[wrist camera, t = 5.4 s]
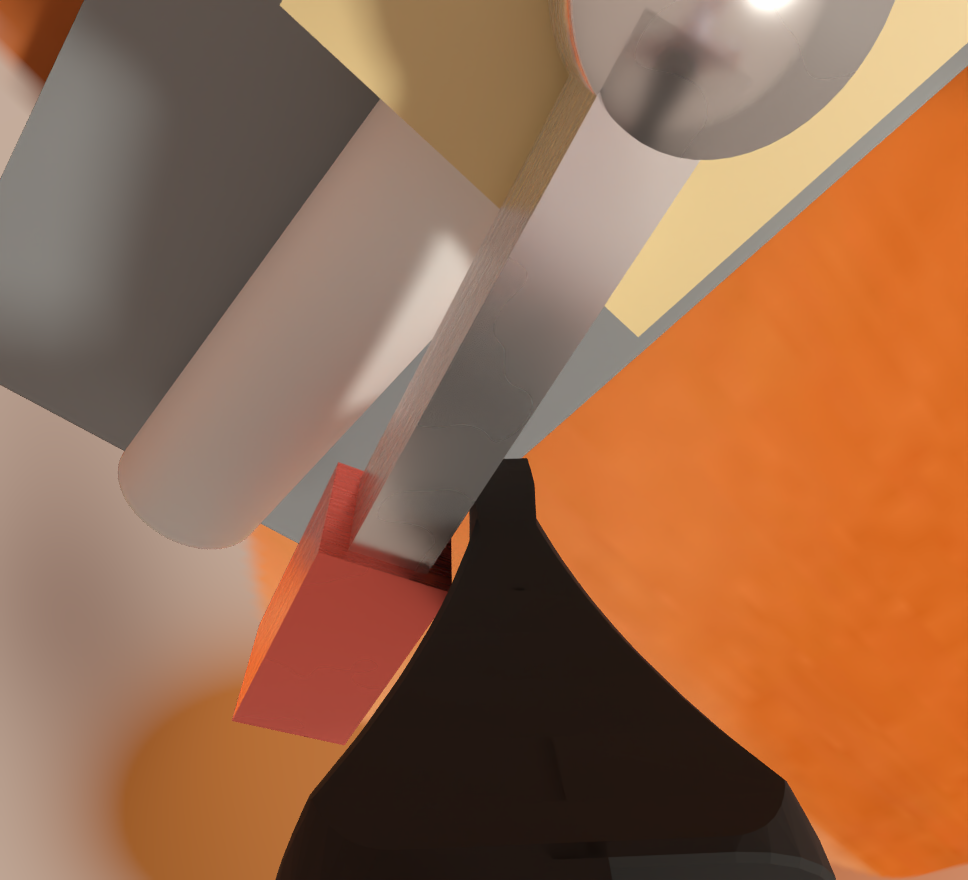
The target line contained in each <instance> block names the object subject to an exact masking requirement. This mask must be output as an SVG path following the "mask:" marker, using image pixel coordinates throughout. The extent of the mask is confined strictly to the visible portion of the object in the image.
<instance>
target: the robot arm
mask: <svg viewBox="0 0 968 880" xmlns="http://www.w3.org/2000/svg"><path fill="white" fill-rule="evenodd" d="M276 880H836V878H835V875H834V873H833V870H832V868H831V866H830V863H829V861H828V859H827V856H826V854H825V852H824V849H823V847H822V845H821V842H820V840H819V838H818V836H817V835H816V833H815V831H814V829H813V827H812V826H811V824H810V822H809V820H808V818H807V816H806V815H805V813H804V811H803V809H802V807H801V806H800V804H799V802H798V800H797V799H796V797H795V795H794V793H793V792H792V790H791V788H790V787H789V785H788V783H787V781H785V780H784V779H783V778H782V777H780V776H779V775H778V774H776V773H775V772H774V771H773V770H771V769H770V768H769V767H767V766H766V765H765V764H764V763H762V762H761V761H760V760H758V759H757V758H756V757H755V756H753V755H752V754H751V753H749V752H748V751H747V750H746V749H744V748H743V747H742V746H740V745H739V744H738V743H737V742H735V741H734V740H733V739H732V738H730V737H729V736H728V735H727V734H726V733H724V732H723V731H722V730H721V729H719V728H718V727H717V726H716V725H715V724H714V723H713V722H711V721H710V720H709V719H708V718H707V717H706V716H705V715H703V714H702V713H701V712H700V711H699V710H698V709H697V708H696V707H694V706H693V705H692V704H691V703H690V702H689V701H688V700H686V699H685V698H684V697H683V696H682V695H681V694H680V693H679V692H678V691H677V690H676V689H675V688H674V687H673V686H672V685H671V684H670V683H669V682H668V681H667V680H666V679H665V678H664V677H663V676H662V675H661V674H660V673H658V672H657V671H656V670H655V669H654V668H653V667H652V666H651V665H650V664H649V663H648V662H647V661H646V660H645V659H644V658H643V657H642V656H641V655H640V654H639V653H638V652H637V651H636V650H635V649H634V648H633V647H632V646H631V644H630V643H629V642H628V641H627V640H626V639H625V638H624V637H623V636H622V635H621V633H620V632H619V631H618V630H617V629H616V628H615V627H614V626H613V625H612V623H611V622H610V621H609V620H608V619H607V617H606V616H605V615H604V614H603V613H602V612H601V610H600V609H599V608H598V607H597V606H596V604H595V603H594V602H593V601H592V599H591V598H590V597H589V596H588V594H587V593H586V592H585V590H584V589H583V588H582V586H581V585H580V584H579V583H578V581H577V580H576V578H575V577H574V576H573V574H572V573H571V571H570V570H569V569H568V567H567V566H566V564H565V563H564V562H563V560H562V559H561V557H560V556H559V554H558V553H557V551H556V550H555V548H554V547H553V545H552V543H551V542H550V540H549V539H548V537H547V535H546V534H545V532H544V530H543V529H542V527H541V526H540V524H539V522H538V521H537V519H536V506H535V487H534V481H533V477H532V473H531V469H530V466H529V463H528V459H527V458H518V459H503V460H502V462H501V463H500V465H499V466H498V468H497V469H496V471H495V472H494V474H493V475H492V477H491V478H490V480H489V481H488V483H487V484H486V486H485V487H484V489H483V490H482V492H481V493H480V495H479V496H478V498H477V499H476V501H475V503H474V504H473V506H472V507H471V509H470V541H469V544H468V546H467V549H466V551H465V554H464V556H463V559H462V561H461V563H460V566H459V568H458V571H457V573H456V575H455V578H454V580H453V582H452V584H451V587H450V589H449V591H448V593H447V595H446V597H445V599H444V601H443V603H442V605H441V607H440V609H439V611H438V613H437V615H436V617H435V618H434V620H433V622H432V624H431V626H430V628H429V630H428V631H427V633H426V635H425V636H424V638H423V640H422V641H421V643H420V645H419V647H418V648H417V650H416V652H415V653H414V655H413V657H412V658H411V660H410V662H409V663H408V665H407V666H406V668H405V670H404V671H403V673H402V674H401V676H400V677H399V679H398V680H397V682H396V683H395V685H394V686H393V688H392V689H391V690H390V692H389V693H388V695H387V696H386V697H385V699H384V700H383V702H382V703H381V705H380V706H379V707H378V709H377V710H376V712H375V713H374V714H373V716H372V717H371V719H370V720H369V722H368V723H367V724H366V726H365V727H364V728H363V730H362V731H361V733H360V734H359V735H358V736H357V738H356V739H355V740H354V742H353V743H352V744H351V745H350V746H349V748H348V749H347V750H346V751H345V753H344V754H343V755H342V756H341V757H340V759H339V760H338V761H337V762H336V764H335V765H334V766H333V767H332V768H331V770H330V771H329V772H328V773H327V775H326V776H325V777H324V778H323V780H322V781H321V782H320V783H319V784H318V786H317V787H316V788H315V789H314V791H313V792H312V793H311V794H310V796H309V798H308V800H307V802H306V804H305V806H304V809H303V811H302V813H301V816H300V818H299V820H298V822H297V825H296V827H295V829H294V831H293V833H292V836H291V839H290V841H289V843H288V846H287V849H286V851H285V853H284V856H283V859H282V862H281V864H280V867H279V870H278V873H277V877H276Z"/></svg>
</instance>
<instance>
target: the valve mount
mask: <svg viewBox="0 0 968 880" xmlns="http://www.w3.org/2000/svg"><path fill="white" fill-rule="evenodd" d="M967 66H968V0H895V2H894V4H893V7H892V9H891V11H890V14H889V16H888V18H887V21H886V23H885V25H884V27H883V29H882V31H881V33H880V34H879V36H878V38H877V40H876V42H875V44H874V45H873V47H872V49H871V50H870V52H869V53H868V55H867V56H866V58H865V59H864V61H863V62H862V64H861V65H860V67H859V68H858V70H857V71H856V72H855V74H854V75H853V76H852V77H851V79H850V80H849V81H848V82H847V84H846V85H845V86H844V87H843V89H842V90H841V91H840V92H839V93H838V94H837V95H836V96H835V97H834V98H833V99H832V100H831V101H830V102H829V103H828V104H827V105H826V106H825V107H824V108H823V109H822V110H821V111H819V112H818V113H817V114H816V115H815V116H813V117H812V118H811V119H810V120H809V121H807V122H806V123H805V124H803V125H802V126H800V127H799V128H797V129H796V130H794V131H793V132H792V133H790V134H789V135H787V136H785V137H783V138H781V139H779V140H778V141H776V142H774V143H772V144H770V145H768V146H765V147H763V148H760V149H758V150H755V151H753V152H750V153H746V154H743V155H739V156H735V157H731V158H724V159H716V160H700V162H699V163H698V165H697V166H696V168H695V169H694V171H693V172H692V174H691V175H690V177H689V178H688V180H687V181H686V183H685V184H684V186H683V187H682V189H681V190H680V192H679V193H678V195H677V196H676V198H675V199H674V201H673V203H672V204H671V206H670V207H669V209H668V210H667V212H666V213H665V215H664V216H663V218H662V219H661V221H660V222H659V224H658V225H657V227H656V228H655V230H654V231H653V233H652V234H651V236H650V237H649V239H648V240H647V242H646V243H645V245H644V246H643V248H642V249H641V251H640V253H639V254H638V256H637V257H636V259H635V260H634V262H633V263H632V265H631V266H630V268H629V269H628V271H627V272H626V274H625V275H624V277H623V278H622V280H621V281H620V283H619V284H618V286H617V287H616V289H615V290H614V292H613V293H612V295H611V296H610V298H609V299H608V301H607V303H606V304H605V306H604V307H603V309H602V310H601V312H600V313H599V315H598V316H597V318H596V319H595V321H594V322H593V324H592V325H591V327H590V328H589V330H588V331H587V333H586V334H585V336H584V337H583V339H582V340H581V342H580V343H579V345H578V346H577V348H576V349H575V351H574V353H573V354H572V356H571V357H570V359H569V360H568V362H567V363H566V365H565V366H564V368H563V369H562V371H561V372H560V374H559V375H558V377H557V378H556V380H555V381H554V383H553V384H552V386H551V387H550V389H549V390H548V392H547V393H546V395H545V396H544V398H543V399H542V401H541V403H540V404H539V406H538V407H537V409H536V410H535V412H534V413H533V415H532V416H531V418H530V419H529V421H528V422H527V424H526V425H525V427H524V428H523V430H522V431H521V433H520V434H519V436H518V437H517V439H516V440H515V442H514V443H513V445H512V446H511V448H510V449H509V451H508V453H507V454H506V456H505V457H504V459H518V458H522V457H523V456H524V455H525V454H527V453H528V452H529V451H530V450H531V449H532V448H533V447H534V446H536V445H537V444H538V443H539V442H540V441H541V440H542V439H544V438H545V437H546V436H547V435H548V434H549V433H550V432H552V431H553V430H554V429H555V428H556V427H557V426H558V425H560V424H561V423H562V422H563V421H564V420H565V419H566V418H567V417H569V416H570V415H571V414H572V413H573V412H574V411H575V410H577V409H578V408H579V407H580V406H581V405H582V404H583V403H585V402H586V401H587V400H588V399H589V398H590V397H591V396H592V395H594V394H595V393H596V392H597V391H598V390H599V389H600V388H602V387H603V386H604V385H605V384H606V383H607V382H608V381H610V380H611V379H612V378H613V377H614V376H615V375H616V374H618V373H619V372H620V371H621V370H622V369H623V368H624V367H625V366H627V365H628V364H629V363H630V362H631V361H632V360H633V359H635V358H636V357H637V356H638V355H639V354H640V353H641V352H643V351H644V350H645V349H646V348H647V347H648V346H649V345H650V344H652V343H653V342H654V341H655V340H656V339H657V338H658V337H660V336H661V335H662V334H663V333H664V332H665V331H666V330H668V329H669V328H670V327H671V326H672V325H673V324H674V323H676V322H677V321H678V320H679V319H680V318H681V317H682V316H683V315H685V314H686V313H687V312H688V311H689V310H690V309H691V308H693V307H694V306H695V305H696V304H697V303H698V302H699V301H701V300H702V299H703V298H704V297H705V296H706V295H707V294H709V293H710V292H711V291H712V290H713V289H714V288H715V287H716V286H718V285H719V284H720V283H721V282H722V281H723V280H724V279H726V278H727V277H728V276H729V275H730V274H731V273H732V272H734V271H735V270H736V269H737V268H738V267H739V266H740V265H741V264H743V263H744V262H745V261H746V260H747V259H748V258H749V257H751V256H752V255H753V254H754V253H755V252H756V251H757V250H759V249H760V248H761V247H762V246H763V245H764V244H765V243H767V242H768V241H769V240H770V239H771V238H772V237H773V236H774V235H776V234H777V233H778V232H779V231H780V230H781V229H782V228H784V227H785V226H786V225H787V224H788V223H789V222H790V221H792V220H793V219H794V218H795V217H796V216H797V215H798V214H799V213H801V212H802V211H803V210H804V209H805V208H806V207H807V206H809V205H810V204H811V203H812V202H813V201H814V200H815V199H817V198H818V197H819V196H820V195H821V194H822V193H823V192H825V191H826V190H827V189H828V188H829V187H830V186H831V185H832V184H834V183H835V182H836V181H837V180H838V179H839V178H840V177H842V176H843V175H844V174H845V173H846V172H847V171H848V170H850V169H851V168H852V167H853V166H854V165H855V164H856V163H858V162H859V161H860V160H861V159H862V158H863V157H864V156H865V155H867V154H868V153H869V152H870V151H871V150H872V149H873V148H875V147H876V146H877V145H878V144H879V143H880V142H881V141H883V140H884V139H885V138H886V137H887V136H888V135H889V134H890V133H892V132H893V131H894V130H895V129H896V128H897V127H898V126H900V125H901V124H902V123H903V122H904V121H905V120H906V119H908V118H909V117H910V116H911V115H912V114H913V113H914V112H916V111H917V110H918V109H919V108H920V107H921V106H922V105H923V104H925V103H926V102H927V101H928V100H929V99H930V98H931V97H933V96H934V95H935V94H936V93H937V92H938V91H939V90H941V89H942V88H943V87H944V86H945V85H946V84H947V83H948V82H950V81H951V80H952V79H953V78H954V77H955V76H956V75H958V74H959V73H960V72H961V71H962V70H963V69H964V68H966V67H967ZM568 76H569V73H568V72H567V70H566V68H565V66H564V64H563V62H562V59H561V57H560V55H559V52H558V50H557V47H556V43H555V39H554V36H553V32H552V28H551V21H550V15H549V4H548V0H84V2H83V4H82V6H81V8H80V10H79V12H78V14H77V17H76V19H75V21H74V23H73V25H72V27H71V29H70V31H69V34H68V36H67V38H66V40H65V42H64V44H63V46H62V48H61V51H60V53H59V55H58V57H57V59H56V61H55V63H54V66H53V68H52V70H51V72H50V74H49V76H48V78H47V80H46V83H45V85H44V87H43V89H42V91H41V93H40V95H39V98H38V100H37V102H36V104H35V106H34V108H33V110H32V112H31V115H30V117H29V119H28V121H27V123H26V125H25V127H24V130H23V132H22V134H21V136H20V138H19V141H18V142H17V144H16V147H15V149H14V151H13V153H12V155H11V157H10V159H9V162H8V164H7V166H6V168H5V170H4V173H3V174H2V176H1V179H0V385H2V386H4V387H5V388H8V389H9V390H11V391H13V392H15V393H17V394H19V395H20V396H22V397H24V398H26V399H28V400H30V401H32V402H34V403H35V404H37V405H39V406H41V407H43V408H45V409H47V410H49V411H50V412H52V413H54V414H56V415H58V416H60V417H62V418H64V419H66V420H67V421H69V422H71V423H73V424H75V425H77V426H79V427H81V428H83V429H84V430H86V431H88V432H90V433H92V434H94V435H96V436H98V437H99V438H101V439H103V440H105V441H107V442H109V443H111V444H112V445H114V446H116V447H118V448H120V449H122V450H124V453H123V455H122V457H121V459H120V462H119V467H118V478H119V484H120V487H121V490H122V493H123V495H124V497H125V499H126V501H127V503H128V504H129V506H130V507H131V508H132V510H133V511H134V512H135V513H136V515H137V516H138V517H139V518H140V519H141V520H142V521H143V522H144V523H146V524H147V525H148V526H149V527H150V528H152V529H153V530H155V531H156V532H158V533H159V534H161V535H163V536H164V537H166V538H168V539H170V540H172V541H175V542H177V543H180V544H183V545H186V546H189V547H194V548H199V549H222V548H227V547H231V546H234V545H236V544H238V543H240V542H242V541H243V540H245V539H246V538H247V537H248V536H249V535H250V534H251V533H252V532H253V531H254V530H255V529H256V528H257V527H258V526H259V524H260V523H261V524H263V525H265V526H267V527H268V528H270V529H272V530H274V531H276V532H278V533H280V534H282V535H283V536H285V537H287V538H289V539H291V540H293V541H295V542H297V543H298V544H299V542H300V540H301V538H302V536H303V534H304V532H305V529H306V527H307V525H308V523H309V521H310V519H311V517H312V515H313V513H314V511H315V509H316V507H317V505H318V503H319V501H320V499H321V496H322V494H323V492H324V490H325V488H326V486H327V484H328V482H329V480H330V478H331V476H332V474H333V472H334V470H335V468H336V466H337V463H338V462H340V463H343V464H345V465H348V466H351V467H354V468H357V469H359V470H362V471H364V470H365V468H366V466H367V465H368V463H369V461H370V459H371V457H372V455H373V453H374V451H375V449H376V447H377V445H378V443H379V441H380V439H381V437H382V436H383V434H384V432H385V430H386V428H387V426H388V424H389V422H390V420H391V418H392V416H393V414H394V412H395V410H396V409H397V407H398V405H399V403H400V401H401V399H402V397H403V395H404V393H405V391H406V389H407V387H408V385H409V383H410V381H411V380H412V378H413V376H414V374H415V372H416V370H417V368H418V366H419V364H420V362H421V360H422V358H423V356H424V354H425V353H426V351H427V349H428V347H429V345H430V343H431V341H432V339H433V337H434V335H435V333H436V331H437V329H438V327H439V325H440V324H441V322H442V320H443V318H444V316H445V314H446V312H447V310H448V308H449V306H450V304H451V302H452V300H453V298H454V297H455V295H456V293H457V291H458V289H459V287H460V285H461V283H462V281H463V279H464V277H465V275H466V273H467V271H468V269H469V268H470V266H471V264H472V262H473V260H474V258H475V256H476V254H477V252H478V250H479V248H480V246H481V244H482V242H483V241H484V239H485V237H486V235H487V233H488V231H489V229H490V227H491V225H492V223H493V221H494V219H495V217H496V215H497V213H498V212H499V210H500V208H501V206H502V204H503V202H504V200H505V198H506V196H507V194H508V192H509V190H510V188H511V186H512V185H513V183H514V181H515V179H516V177H517V175H518V173H519V171H520V169H521V167H522V165H523V163H524V161H525V159H526V157H527V156H528V154H529V152H530V150H531V148H532V146H533V144H534V142H535V140H536V138H537V136H538V134H539V132H540V130H541V129H542V127H543V125H544V123H545V121H546V119H547V117H548V115H549V113H550V111H551V109H552V107H553V105H554V103H555V101H556V100H557V98H558V96H559V94H560V92H561V90H562V88H563V86H564V84H565V82H566V80H567V78H568Z"/></svg>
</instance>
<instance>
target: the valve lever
mask: <svg viewBox="0 0 968 880" xmlns="http://www.w3.org/2000/svg"><path fill="white" fill-rule="evenodd" d="M894 2H895V0H548V4H549V15H550V21H551V28H552V32H553V36H554V39H555V43H556V47H557V50H558V52H559V55H560V57H561V59H562V62H563V64H564V66H565V68H566V70H567V72H568V73H569V76H568V78H567V80H566V82H565V84H564V86H563V88H562V90H561V92H560V94H559V96H558V98H557V100H556V101H555V103H554V105H553V107H552V109H551V111H550V113H549V115H548V117H547V119H546V121H545V123H544V125H543V127H542V129H541V130H540V132H539V134H538V136H537V138H536V140H535V142H534V144H533V146H532V148H531V150H530V152H529V154H528V156H527V157H526V159H525V161H524V163H523V165H522V167H521V169H520V171H519V173H518V175H517V177H516V179H515V181H514V183H513V185H512V186H511V188H510V190H509V192H508V194H507V196H506V198H505V200H504V202H503V204H502V206H501V208H500V210H499V212H498V213H497V215H496V217H495V219H494V221H493V223H492V225H491V227H490V229H489V231H488V233H487V235H486V237H485V239H484V241H483V242H482V244H481V246H480V248H479V250H478V252H477V254H476V256H475V258H474V260H473V262H472V264H471V266H470V268H469V269H468V271H467V273H466V275H465V277H464V279H463V281H462V283H461V285H460V287H459V289H458V291H457V293H456V295H455V297H454V298H453V300H452V302H451V304H450V306H449V308H448V310H447V312H446V314H445V316H444V318H443V320H442V322H441V324H440V325H439V327H438V329H437V331H436V333H435V335H434V337H433V339H432V341H431V343H430V345H429V347H428V349H427V351H426V353H425V354H424V356H423V358H422V360H421V362H420V364H419V366H418V368H417V370H416V372H415V374H414V376H413V378H412V380H411V381H410V383H409V385H408V387H407V389H406V391H405V393H404V395H403V397H402V399H401V401H400V403H399V405H398V407H397V409H396V410H395V412H394V414H393V416H392V418H391V420H390V422H389V424H388V426H387V428H386V430H385V432H384V434H383V436H382V437H381V439H380V441H379V443H378V445H377V447H376V449H375V451H374V453H373V455H372V457H371V459H370V461H369V463H368V465H367V466H366V468H365V470H364V471H362V470H359V469H357V468H354V467H351V466H348V465H345V464H343V463H340V462H338V463H337V466H336V468H335V470H334V472H333V474H332V476H331V478H330V480H329V482H328V484H327V486H326V488H325V490H324V492H323V494H322V496H321V499H320V501H319V503H318V505H317V507H316V509H315V511H314V513H313V515H312V517H311V519H310V521H309V523H308V525H307V527H306V529H305V532H304V534H303V536H302V538H301V540H300V542H299V544H298V546H297V548H296V550H295V552H294V554H293V556H292V558H291V560H290V562H289V565H288V567H287V569H286V571H285V573H284V575H283V577H282V579H281V581H280V583H279V585H278V587H277V589H276V591H275V593H274V595H273V598H272V600H271V602H270V604H269V606H268V608H267V610H266V612H265V614H264V616H263V618H262V620H261V622H260V624H259V628H258V631H257V635H256V638H255V642H254V645H253V648H252V652H251V655H250V659H249V662H248V666H247V670H246V673H245V677H244V680H243V684H242V687H241V690H240V694H239V697H238V701H237V704H236V708H235V711H234V715H233V718H232V721H235V722H240V723H244V724H249V725H254V726H259V727H263V728H268V729H272V730H277V731H281V732H286V733H290V734H295V735H300V736H304V737H309V738H313V739H318V740H323V741H327V742H332V743H337V744H342V745H345V744H346V742H347V741H348V739H349V738H350V736H351V735H352V733H353V732H354V731H355V729H356V728H357V726H358V725H359V724H360V722H361V721H362V719H363V718H364V717H365V715H366V714H367V712H368V711H369V710H370V708H371V707H372V705H373V704H374V702H375V701H376V700H377V698H378V697H379V695H380V694H381V693H382V691H383V690H384V688H385V687H386V685H387V684H388V683H389V681H390V680H391V678H392V677H393V676H394V674H395V673H396V671H397V670H398V668H399V667H400V666H401V664H402V663H403V661H404V660H405V659H406V657H407V656H408V654H409V653H410V652H411V650H412V649H413V647H414V646H415V644H416V643H417V642H418V640H419V639H420V637H421V636H422V635H423V633H424V632H425V630H426V629H427V627H428V626H429V625H430V623H431V622H432V620H433V619H434V618H435V616H436V615H437V613H438V611H439V609H440V607H441V605H442V603H443V601H444V599H445V597H446V595H447V593H448V591H449V589H450V587H451V584H452V573H451V537H452V536H453V534H454V533H455V531H456V530H457V528H458V527H459V525H460V524H461V522H462V521H463V519H464V518H465V516H466V515H467V513H468V512H469V510H470V509H471V507H472V506H473V504H474V503H475V501H476V499H477V498H478V496H479V495H480V493H481V492H482V490H483V489H484V487H485V486H486V484H487V483H488V481H489V480H490V478H491V477H492V475H493V474H494V472H495V471H496V469H497V468H498V466H499V465H500V463H501V462H502V460H503V459H504V457H505V456H506V454H507V453H508V451H509V449H510V448H511V446H512V445H513V443H514V442H515V440H516V439H517V437H518V436H519V434H520V433H521V431H522V430H523V428H524V427H525V425H526V424H527V422H528V421H529V419H530V418H531V416H532V415H533V413H534V412H535V410H536V409H537V407H538V406H539V404H540V403H541V401H542V399H543V398H544V396H545V395H546V393H547V392H548V390H549V389H550V387H551V386H552V384H553V383H554V381H555V380H556V378H557V377H558V375H559V374H560V372H561V371H562V369H563V368H564V366H565V365H566V363H567V362H568V360H569V359H570V357H571V356H572V354H573V353H574V351H575V349H576V348H577V346H578V345H579V343H580V342H581V340H582V339H583V337H584V336H585V334H586V333H587V331H588V330H589V328H590V327H591V325H592V324H593V322H594V321H595V319H596V318H597V316H598V315H599V313H600V312H601V310H602V309H603V307H604V306H605V304H606V303H607V301H608V299H609V298H610V296H611V295H612V293H613V292H614V290H615V289H616V287H617V286H618V284H619V283H620V281H621V280H622V278H623V277H624V275H625V274H626V272H627V271H628V269H629V268H630V266H631V265H632V263H633V262H634V260H635V259H636V257H637V256H638V254H639V253H640V251H641V249H642V248H643V246H644V245H645V243H646V242H647V240H648V239H649V237H650V236H651V234H652V233H653V231H654V230H655V228H656V227H657V225H658V224H659V222H660V221H661V219H662V218H663V216H664V215H665V213H666V212H667V210H668V209H669V207H670V206H671V204H672V203H673V201H674V199H675V198H676V196H677V195H678V193H679V192H680V190H681V189H682V187H683V186H684V184H685V183H686V181H687V180H688V178H689V177H690V175H691V174H692V172H693V171H694V169H695V168H696V166H697V165H698V163H699V162H700V160H716V159H724V158H731V157H735V156H739V155H743V154H746V153H750V152H753V151H755V150H758V149H760V148H763V147H765V146H768V145H770V144H772V143H774V142H776V141H778V140H779V139H781V138H783V137H785V136H787V135H789V134H790V133H792V132H793V131H794V130H796V129H797V128H799V127H800V126H802V125H803V124H805V123H806V122H807V121H809V120H810V119H811V118H812V117H813V116H815V115H816V114H817V113H818V112H819V111H821V110H822V109H823V108H824V107H825V106H826V105H827V104H828V103H829V102H830V101H831V100H832V99H833V98H834V97H835V96H836V95H837V94H838V93H839V92H840V91H841V90H842V89H843V87H844V86H845V85H846V84H847V82H848V81H849V80H850V79H851V77H852V76H853V75H854V74H855V72H856V71H857V70H858V68H859V67H860V65H861V64H862V62H863V61H864V59H865V58H866V56H867V55H868V53H869V52H870V50H871V49H872V47H873V45H874V44H875V42H876V40H877V38H878V36H879V34H880V33H881V31H882V29H883V27H884V25H885V23H886V21H887V18H888V16H889V14H890V11H891V9H892V7H893V4H894Z"/></svg>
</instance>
